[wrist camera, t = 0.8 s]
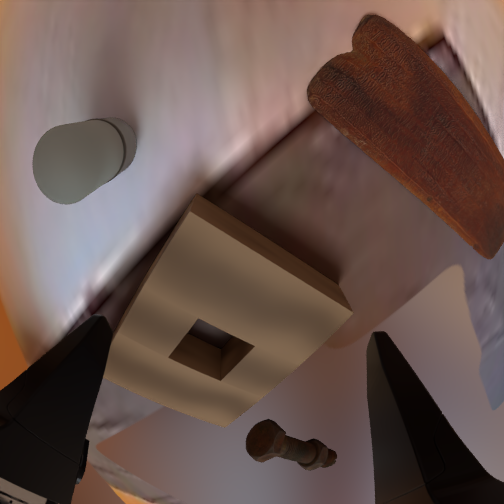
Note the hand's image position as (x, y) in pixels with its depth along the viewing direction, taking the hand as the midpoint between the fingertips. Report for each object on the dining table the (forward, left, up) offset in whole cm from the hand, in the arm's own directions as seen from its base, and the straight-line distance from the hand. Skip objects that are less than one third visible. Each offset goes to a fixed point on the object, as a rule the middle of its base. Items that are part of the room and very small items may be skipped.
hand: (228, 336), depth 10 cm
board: (-10, -5, -14) cm, 18 cm away
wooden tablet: (+14, -13, -15) cm, 24 cm away
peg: (-1, +9, -14) cm, 17 cm away
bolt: (-23, -26, -15) cm, 37 cm away
